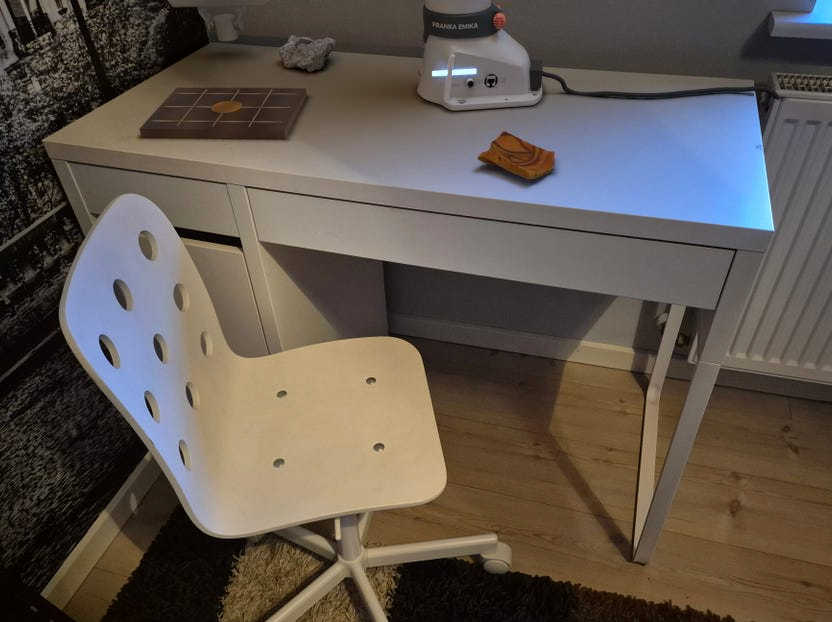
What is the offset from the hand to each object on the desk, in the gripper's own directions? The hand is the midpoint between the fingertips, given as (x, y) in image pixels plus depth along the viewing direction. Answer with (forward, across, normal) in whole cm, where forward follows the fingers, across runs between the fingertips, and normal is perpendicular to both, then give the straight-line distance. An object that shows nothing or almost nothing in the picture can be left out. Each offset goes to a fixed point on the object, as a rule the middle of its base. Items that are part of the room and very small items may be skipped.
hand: (226, 29), depth 135 cm
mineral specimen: (+5, -17, +5) cm, 19 cm away
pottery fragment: (+6, -58, +49) cm, 76 cm away
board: (+5, -9, +31) cm, 33 cm away
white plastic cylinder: (+2, 0, 0) cm, 2 cm away
